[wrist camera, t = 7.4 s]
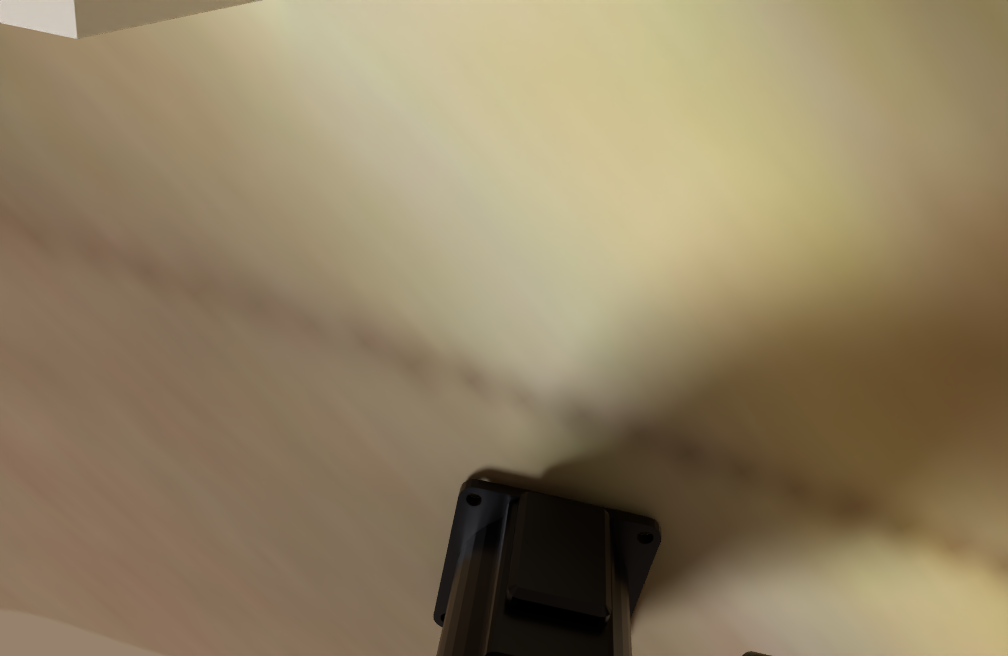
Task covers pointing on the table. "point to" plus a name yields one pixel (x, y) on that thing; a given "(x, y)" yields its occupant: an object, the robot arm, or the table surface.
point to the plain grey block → (100, 14)
